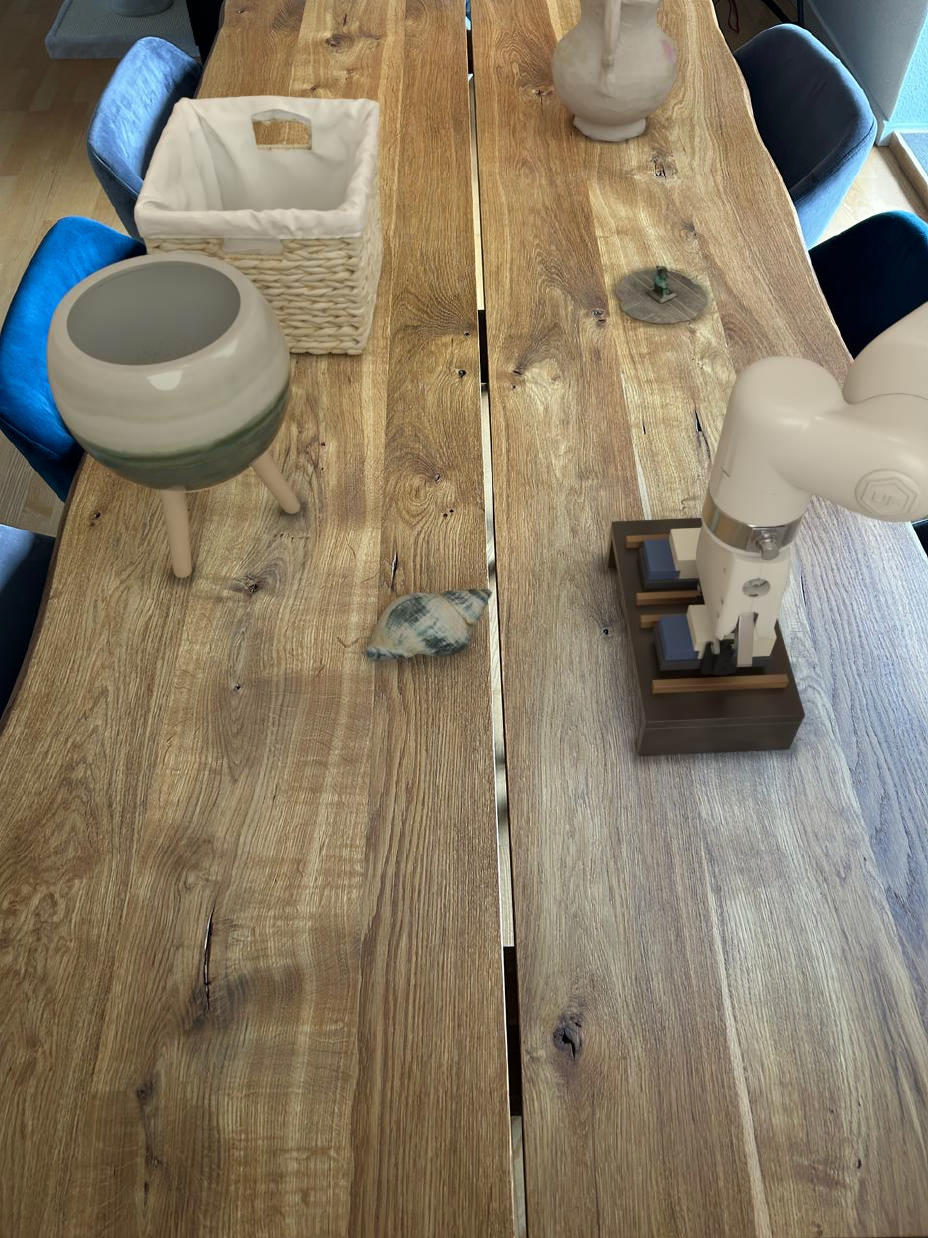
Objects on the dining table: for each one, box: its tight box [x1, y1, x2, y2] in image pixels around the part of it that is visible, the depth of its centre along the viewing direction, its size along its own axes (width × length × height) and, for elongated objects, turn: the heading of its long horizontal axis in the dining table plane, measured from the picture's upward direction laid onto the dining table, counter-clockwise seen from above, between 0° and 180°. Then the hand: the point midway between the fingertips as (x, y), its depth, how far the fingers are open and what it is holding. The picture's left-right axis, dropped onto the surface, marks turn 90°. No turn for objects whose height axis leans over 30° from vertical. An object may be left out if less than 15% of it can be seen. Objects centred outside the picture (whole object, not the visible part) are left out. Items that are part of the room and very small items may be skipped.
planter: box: [45, 253, 301, 579], centre depth 102 cm, size 22×22×28 cm
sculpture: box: [615, 265, 707, 325], centre depth 136 cm, size 12×9×8 cm
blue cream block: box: [653, 605, 777, 670], centre depth 91 cm, size 10×4×4 cm, turn 92°
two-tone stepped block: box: [638, 528, 701, 590], centre depth 97 cm, size 10×4×4 cm, turn 92°
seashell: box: [364, 588, 493, 663], centre depth 100 cm, size 6×8×12 cm
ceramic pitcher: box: [551, 0, 679, 143], centre depth 155 cm, size 22×20×25 cm
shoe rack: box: [605, 517, 806, 757], centre depth 98 cm, size 14×24×7 cm, turn 2°
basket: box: [133, 94, 385, 356], centre depth 128 cm, size 27×27×22 cm
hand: (712, 645), depth 92 cm, fingers closed on blue cream block, 4 cm apart
